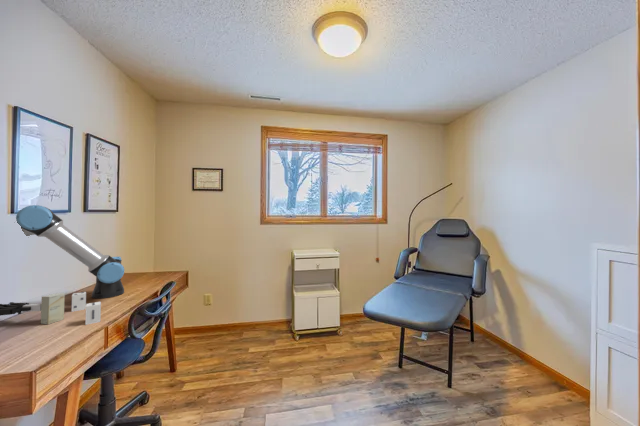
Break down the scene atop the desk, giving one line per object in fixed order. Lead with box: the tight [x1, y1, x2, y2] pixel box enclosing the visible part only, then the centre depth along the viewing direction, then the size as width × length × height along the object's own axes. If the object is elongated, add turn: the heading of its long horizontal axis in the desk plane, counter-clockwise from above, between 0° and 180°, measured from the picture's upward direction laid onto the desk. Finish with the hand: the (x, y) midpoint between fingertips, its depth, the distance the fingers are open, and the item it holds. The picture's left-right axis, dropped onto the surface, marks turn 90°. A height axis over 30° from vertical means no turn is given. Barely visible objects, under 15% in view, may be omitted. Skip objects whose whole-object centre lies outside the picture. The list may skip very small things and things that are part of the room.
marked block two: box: [71, 291, 87, 312], centre depth 129 cm, size 5×5×8 cm
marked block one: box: [84, 301, 102, 326], centre depth 114 cm, size 5×5×8 cm
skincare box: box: [40, 292, 66, 325], centre depth 114 cm, size 6×4×12 cm
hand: (41, 307), depth 113 cm, fingers closed
